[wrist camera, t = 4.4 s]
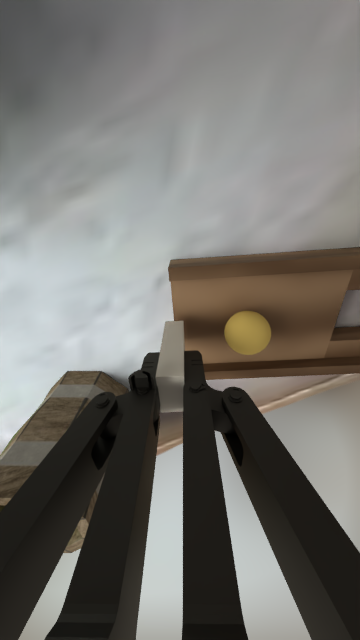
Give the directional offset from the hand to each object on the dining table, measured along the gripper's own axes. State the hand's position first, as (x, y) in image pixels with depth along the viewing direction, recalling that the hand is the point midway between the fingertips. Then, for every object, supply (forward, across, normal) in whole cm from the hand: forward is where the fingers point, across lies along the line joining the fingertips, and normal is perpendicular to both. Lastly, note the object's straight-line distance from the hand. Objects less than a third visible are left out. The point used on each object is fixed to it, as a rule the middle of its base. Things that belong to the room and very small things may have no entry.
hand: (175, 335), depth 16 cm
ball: (0, +6, 0) cm, 6 cm away
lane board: (+4, +11, 0) cm, 12 cm away
